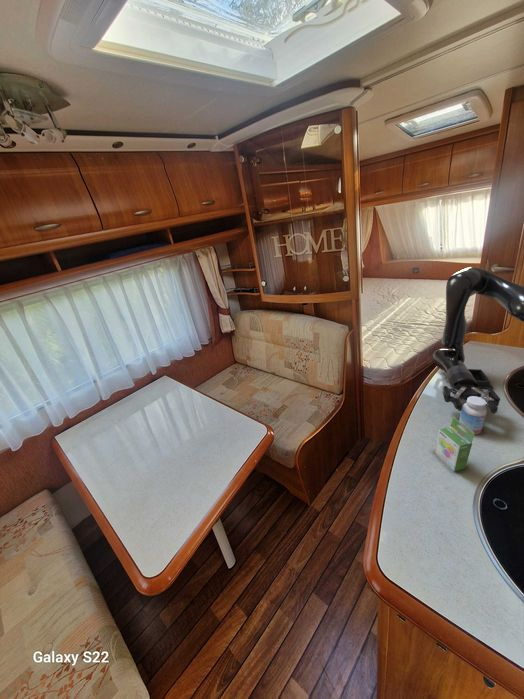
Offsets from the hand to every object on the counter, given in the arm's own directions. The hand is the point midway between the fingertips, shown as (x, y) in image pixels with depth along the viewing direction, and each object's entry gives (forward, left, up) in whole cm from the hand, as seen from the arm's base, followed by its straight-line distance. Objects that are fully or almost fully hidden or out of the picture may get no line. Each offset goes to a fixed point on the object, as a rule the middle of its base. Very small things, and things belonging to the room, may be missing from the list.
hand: (477, 410), depth 82 cm
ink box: (+9, +13, -9) cm, 18 cm away
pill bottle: (0, -2, -9) cm, 9 cm away
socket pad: (-8, -30, -9) cm, 32 cm away
